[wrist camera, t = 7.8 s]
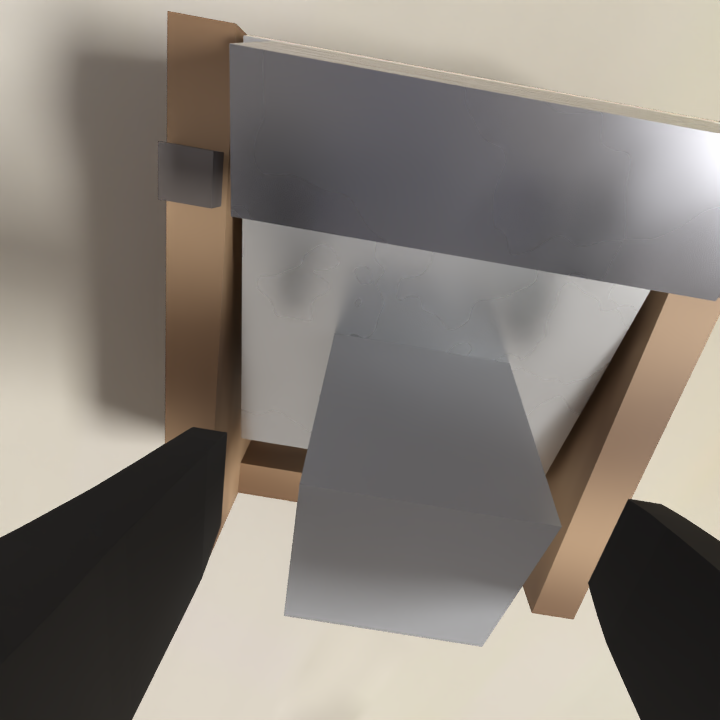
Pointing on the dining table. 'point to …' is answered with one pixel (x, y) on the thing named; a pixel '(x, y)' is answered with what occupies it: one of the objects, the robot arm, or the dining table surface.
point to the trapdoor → (453, 225)
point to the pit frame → (285, 463)
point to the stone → (417, 495)
